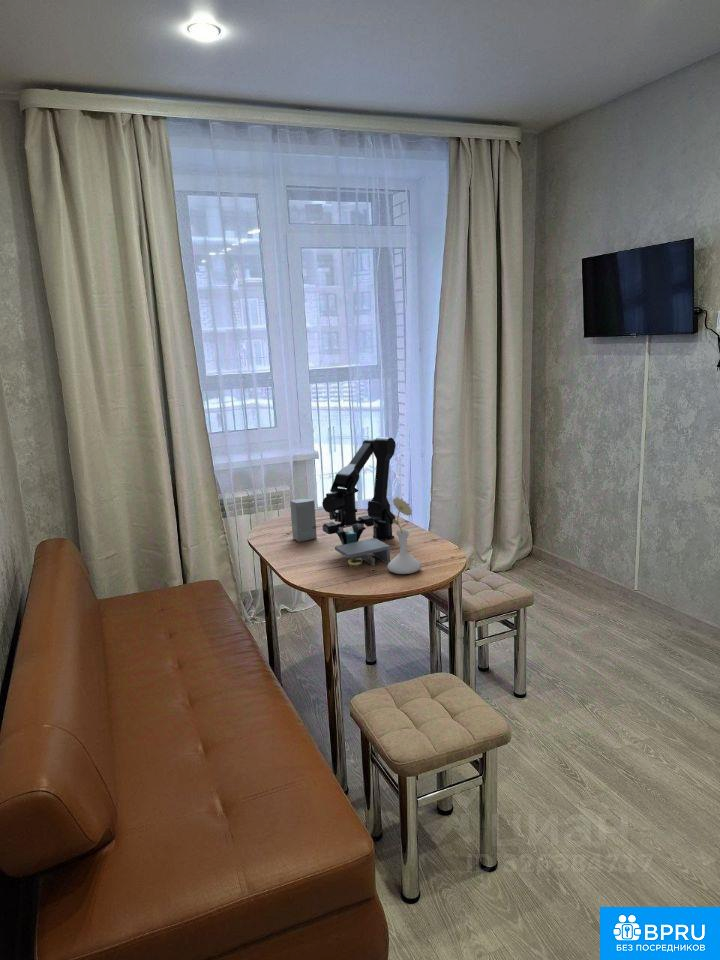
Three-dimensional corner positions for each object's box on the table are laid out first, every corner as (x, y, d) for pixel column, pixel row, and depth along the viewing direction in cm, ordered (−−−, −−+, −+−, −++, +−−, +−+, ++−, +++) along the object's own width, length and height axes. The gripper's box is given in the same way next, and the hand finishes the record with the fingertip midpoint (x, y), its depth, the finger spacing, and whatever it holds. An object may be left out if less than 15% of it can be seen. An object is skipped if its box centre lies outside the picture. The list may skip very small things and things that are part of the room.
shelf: (375, 554, 240) (374, 538, 238) (390, 562, 230) (389, 545, 229) (335, 563, 233) (334, 546, 232) (349, 572, 223) (348, 554, 222)
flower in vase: (426, 574, 218) (423, 500, 212) (394, 579, 215) (390, 505, 209) (412, 561, 230) (409, 492, 224) (381, 566, 227) (377, 496, 221)
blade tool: (352, 548, 246) (351, 530, 245) (378, 563, 229) (377, 544, 227) (343, 550, 245) (341, 532, 243) (368, 566, 227) (367, 546, 225)
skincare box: (298, 542, 259) (295, 503, 255) (291, 538, 265) (288, 500, 261) (318, 538, 262) (315, 500, 259) (311, 534, 269) (308, 496, 265)
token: (358, 561, 234) (358, 556, 233) (365, 565, 229) (364, 560, 229) (345, 564, 231) (345, 559, 231) (352, 568, 227) (351, 563, 227)
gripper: (360, 497, 251) (362, 536, 255) (315, 505, 243) (318, 546, 247) (374, 503, 241) (376, 544, 245) (327, 512, 233) (330, 554, 237)
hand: (350, 546), depth 244 cm, fingers closed on blade tool, 4 cm apart
